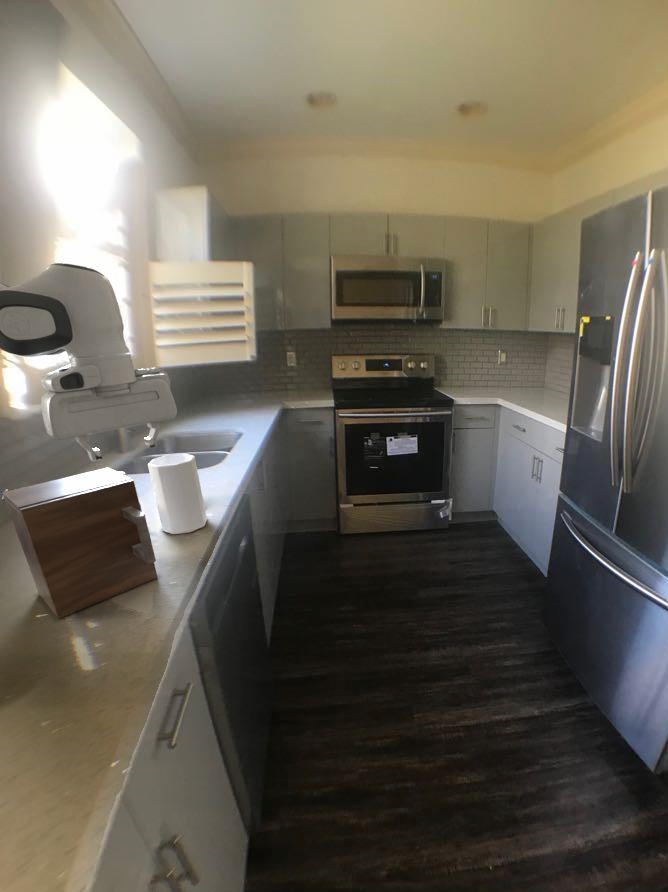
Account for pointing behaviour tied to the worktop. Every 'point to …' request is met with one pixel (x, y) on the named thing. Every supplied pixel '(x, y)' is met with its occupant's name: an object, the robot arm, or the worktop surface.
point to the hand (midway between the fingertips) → (125, 453)
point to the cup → (177, 493)
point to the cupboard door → (91, 545)
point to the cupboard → (48, 493)
